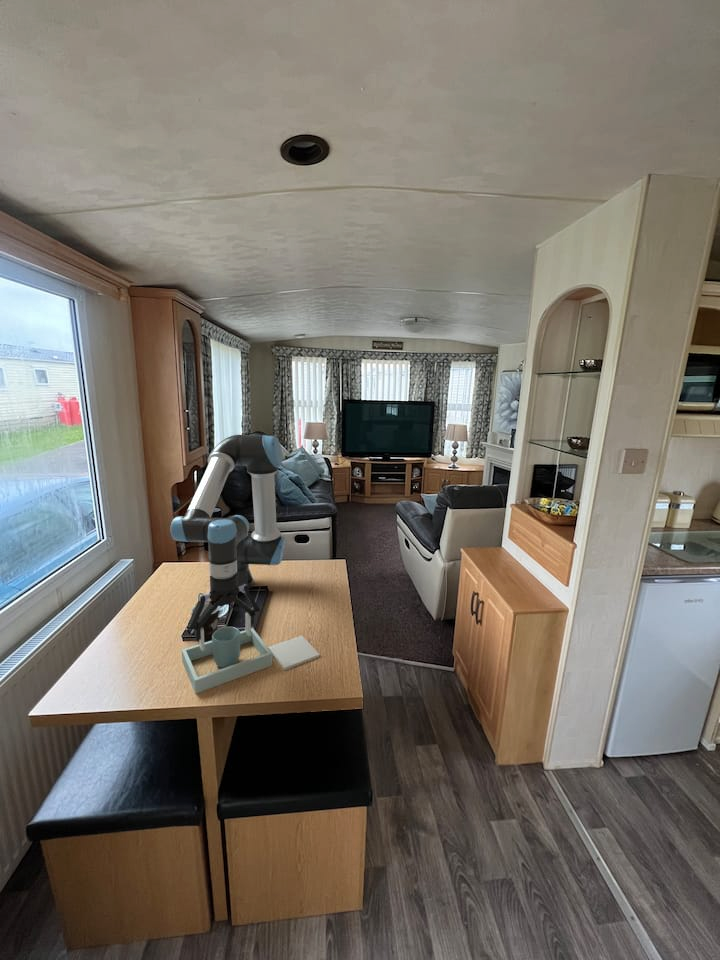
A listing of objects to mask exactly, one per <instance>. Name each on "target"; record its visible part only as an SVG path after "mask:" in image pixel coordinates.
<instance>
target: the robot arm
mask: <svg viewBox="0 0 720 960" xmlns="http://www.w3.org/2000/svg"><path fill="white" fill-rule="evenodd" d="M282 465H283V449H282V446H281V443H280V440H279V439H278V437H276V436H273V435H267V434H265V435H264V434H262V435H261V434H233V435H231V436H228V437H226V438H224V439H222V440H221V441H220V442H218V443H217V444H216V445H215V447H213V449H212V450H211V452H210V453H209V455H208V457H207V466H206V469H205V471H204V473H203V476H202V478H201V479H200V482H199V485H198V486H197V488H196V491H195V492H194V495H193V497H192V499H191V502H190V503H189V506H188V508H187V510H186V511H185V512H186V513H184V516H183V515H181V516H180V515H179V516H175V517H174V518H173V519H172V521H171V524H170V526H169V527H170V530H169V531H170V535H171V537H172V539H173V540H174V541H177V542H186V543H188V542H189V543H192V542H193V543H208V558H209V559H208V564H209V565H208V566H209V575H210V576H209V588H210V589H209V593H204V594H203V593H202V592H200V593H199V594H198V600H197V602H196V605H195V606H196V607H195V606H194V607H195V609H194V611H193V613H192V614H191V616H190V617H189V620H188V622H187V628H188V627H189V631H194V632H195V635H194V636H195V638H196V641H197V640H199V641H198V643H199V644H198V645H199V646H200V648H201V650H202V651H204V650H205V646H204V643H205V642H204V629H203V627H202V626H203V625H204V624H205V622H206V621H207V620H208V618H209V617H210V615H211V614H212V613H213V611H214V610H216V609H217V607H218V606H219V608H220V607H225V606H226V605H231V604H232V603H233V602H234V603H235V604H236V605H238V606H239V607H240V608H242V610H244V611H245V613H244V620H245V622H244V623H245V626H244V627H245V630H246V634H247V635H248V636H249V637H250V636H251V628H252V625H253V624H254V623H255V621H254V619H255V616H256V613H258V612H260V611H261V610H260V607H259V606H258V604H257V603H256V600H254V598H253V596H252V595H251V592H250V590H249V588H251V587H252V588H253V587H254V577H253V576H252V572H251V570H250V566H249V565H253V566H254V565H256V566H257V565H259V566H278V565H279V564H281V563H282V561H283V557H284V552H285V548H286V547H285V546H286V537H284V536H282V534H281V531H280V529H278V528H277V512H276V509H277V508H276V507H277V506H276V505H277V503H276V488H275V487H276V485H275V483H276V482H275V481H276V480H275V474H276V473H277V472H278V471H279V468H280V467H281V466H282ZM237 466H243V467H246V473H248V474H249V475H250V476H251V491H252V504H253V518H254V519H253V520H254V521H253V522H254V530H253V531H252V532H251V535H249V531H250V523H249V521H248V519H247V518H246V517H245V516H243V515H239V514H235V515H231V516H230V517H212V516H213V513H214V510H215V508H216V507H217V506H216V505H217V503H218V501H219V498H220V495H221V493H222V492H223V488H224V486H225V484H226V481H227V478H228V476H229V474H230V473H231V472H232V471H233V470H234V468H235V467H237ZM252 588H251V589H252ZM239 592H242V593H241V594H244V595H245V597H246V599H247V600H248V602H249V603H250V605H251V606H252V607H250V606H249V605H247V604H246V603H245V602H244V601H242V600H241V599H240V598H239V597H238V595H239V594H240V593H239ZM238 593H239V594H238ZM209 599H210V601H209V602H208V600H209ZM205 603H209V605H208V606H207V608H206V609H205V611H204V612H203V613H202V615H201V616H200V614H201V612H202V610H203V607H204V605H205ZM214 603H215V604H214ZM199 616H200V617H199ZM198 618H199V619H198Z"/></svg>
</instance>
